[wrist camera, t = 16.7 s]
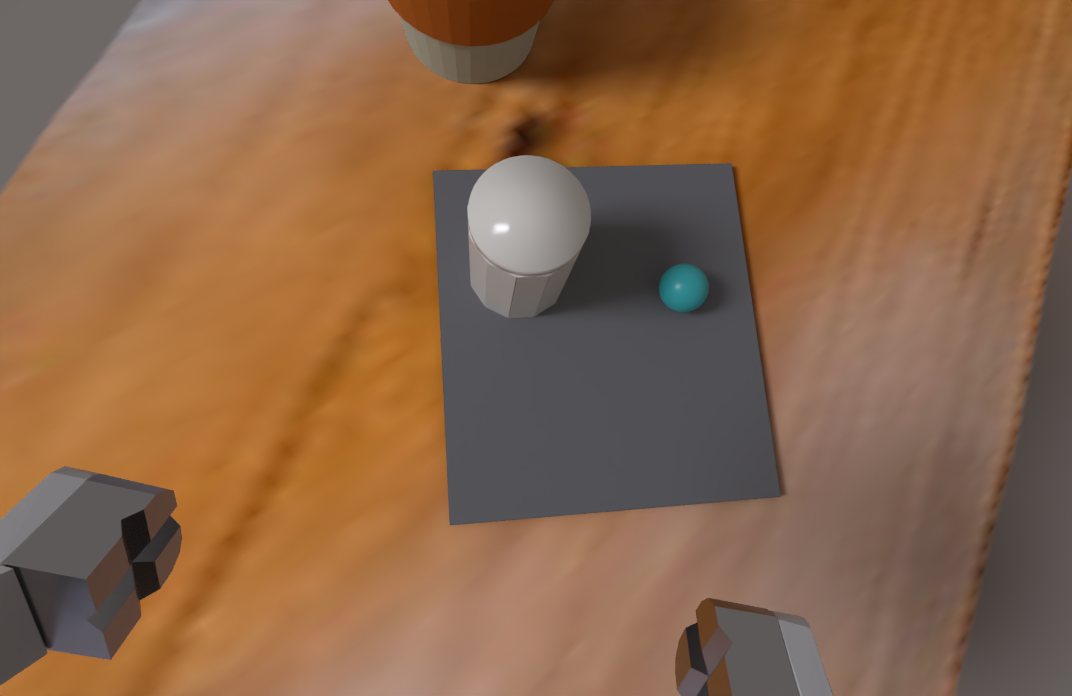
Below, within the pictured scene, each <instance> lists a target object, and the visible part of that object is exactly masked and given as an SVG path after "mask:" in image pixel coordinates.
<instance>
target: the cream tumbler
mask: <svg viewBox="0 0 1072 696" xmlns="http://www.w3.org/2000/svg"><path fill="white" fill-rule="evenodd" d="M467 213H468V239H469V263H470V281H471V287H472V288H473V290H474V291H475V293H476V294H477V296H478V297H479V299H480V300H481V302H482V303H483V304H484V306H485V307H486V308H489V309H491V310H493V311H495V312H497V313H499V314H501V315H503V316H505V317H507V318H508V317H509V318H524V317H535V316H537V315H538V314H540V313H541V312H543V311H544V310H546V309H547V308H549V307H551V306H552V305H554V304H555V303H556V301H557V299H558V297H559V295H560V293H561V291H562V289H563V287H564V285H565V283H566V281H567V279H568V277H569V274H570V272H571V270H572V268H573V266H574V264H575V262H576V260H577V257H578V255H579V253H580V251H581V249H582V247H583V245H584V243H585V241H586V238H587V236H588V234H589V229H590V224H591V208H590V203H589V199H588V196H587V194H586V192H585V189H584V188H583V186H582V185H581V183H580V182H579V180H578V179H577V178H576V177H575V176H574V175H573V174H572V173H571V172H570V171H569V170H568V169H566V168H565V167H564V166H562V165H560V164H558V163H557V162H554V161H552V160H550V159H546V158H543V157H538V156H526V155H525V156H516V157H511V158H508V159H505V160H502V161H500V162H498V163H496V164H495V165H493V166H492V167H490V168H489V169H488V170H486V171H485V172H484V173H483V174H482V175H481V177H480V178H479V179H478V180H477V182H476V184H475V185H474V187H473V189H472V192H471V195H470V198H469V203H468V205H467Z"/></svg>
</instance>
